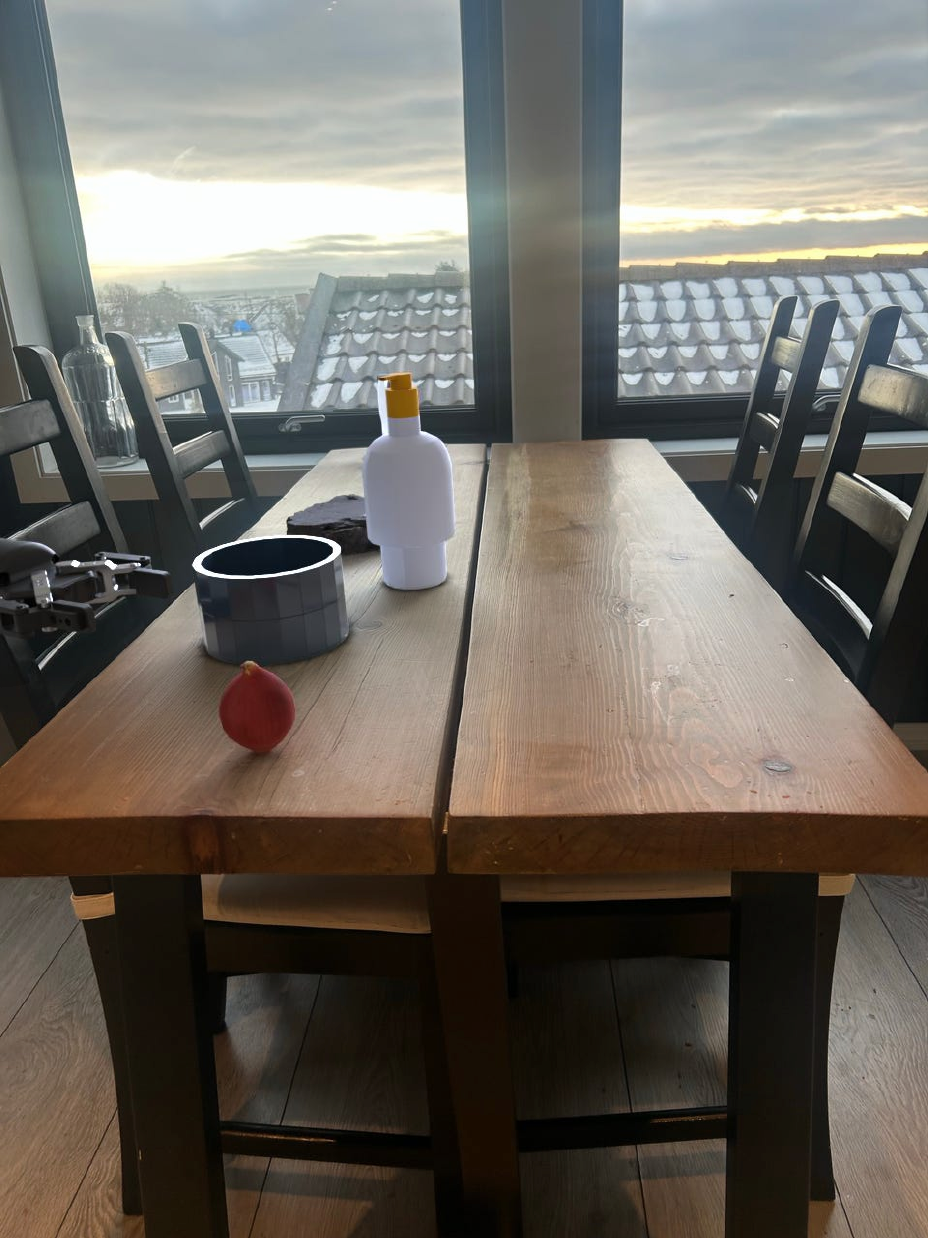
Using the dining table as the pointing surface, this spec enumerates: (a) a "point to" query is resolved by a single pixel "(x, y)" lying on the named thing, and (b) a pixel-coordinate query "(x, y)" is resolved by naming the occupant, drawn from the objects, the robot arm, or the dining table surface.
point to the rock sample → (335, 523)
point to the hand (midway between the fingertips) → (132, 602)
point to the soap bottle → (408, 493)
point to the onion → (257, 709)
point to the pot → (271, 599)
